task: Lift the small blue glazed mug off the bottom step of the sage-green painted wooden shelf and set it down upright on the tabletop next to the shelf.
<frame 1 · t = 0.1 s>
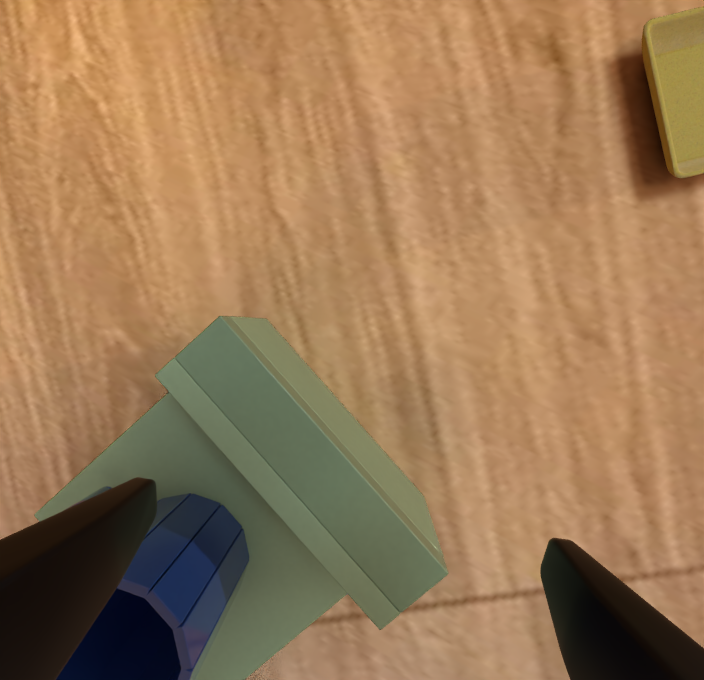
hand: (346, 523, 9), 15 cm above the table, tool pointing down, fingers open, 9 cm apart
shelf: (246, 493, 25), on the table
mug: (189, 552, 22), point 3 cm above the table, touching shelf
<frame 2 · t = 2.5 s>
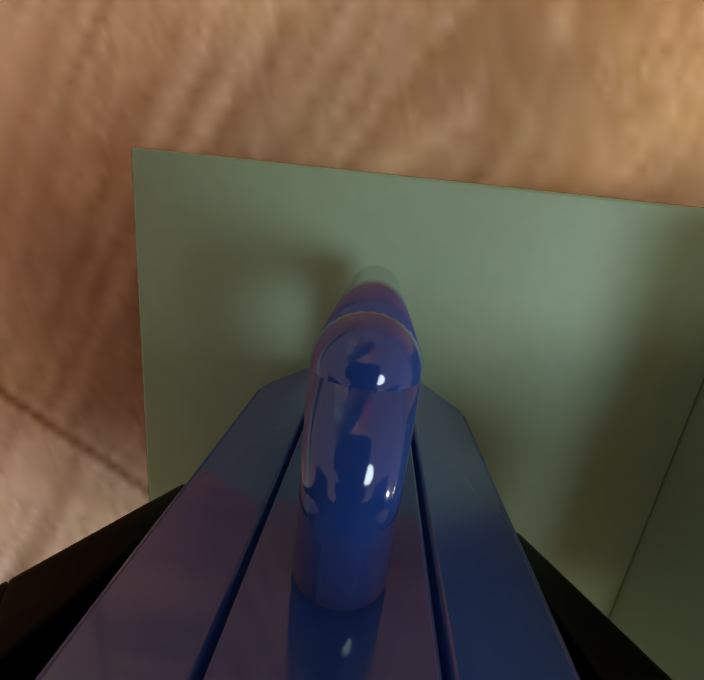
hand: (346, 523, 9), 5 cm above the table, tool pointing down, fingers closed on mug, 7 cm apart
shelf: (446, 436, 13), on the table
mug: (350, 484, 10), point 3 cm above the table, touching gripper, shelf
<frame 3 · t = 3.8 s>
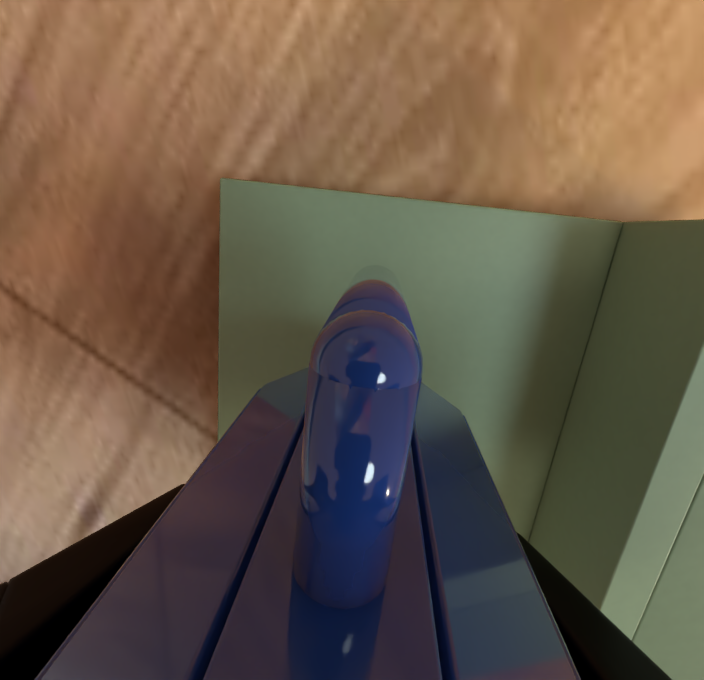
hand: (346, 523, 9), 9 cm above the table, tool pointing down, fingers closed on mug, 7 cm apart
shelf: (429, 383, 17), on the table
mug: (350, 484, 10), point 8 cm above the table, touching gripper
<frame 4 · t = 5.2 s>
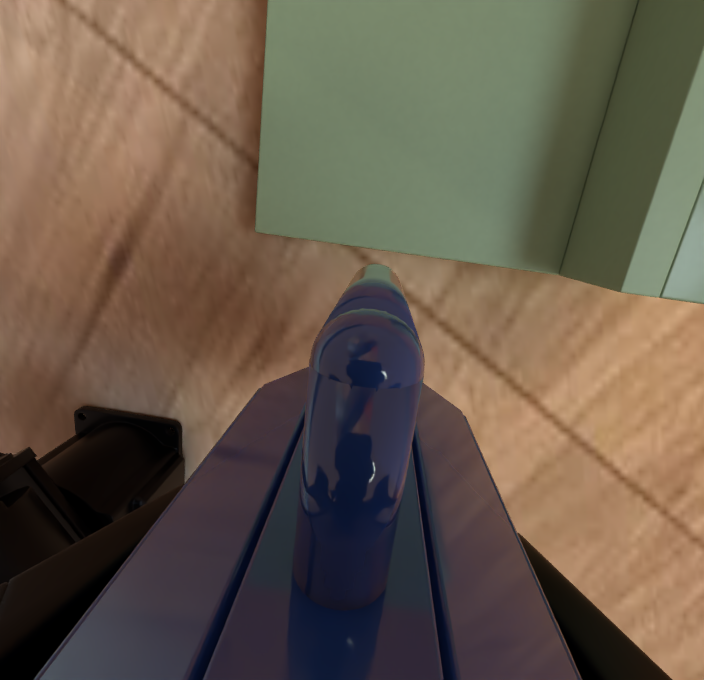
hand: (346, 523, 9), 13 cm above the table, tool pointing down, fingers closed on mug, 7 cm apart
shelf: (474, 83, 17), on the table
mug: (350, 484, 10), point 11 cm above the table, touching gripper
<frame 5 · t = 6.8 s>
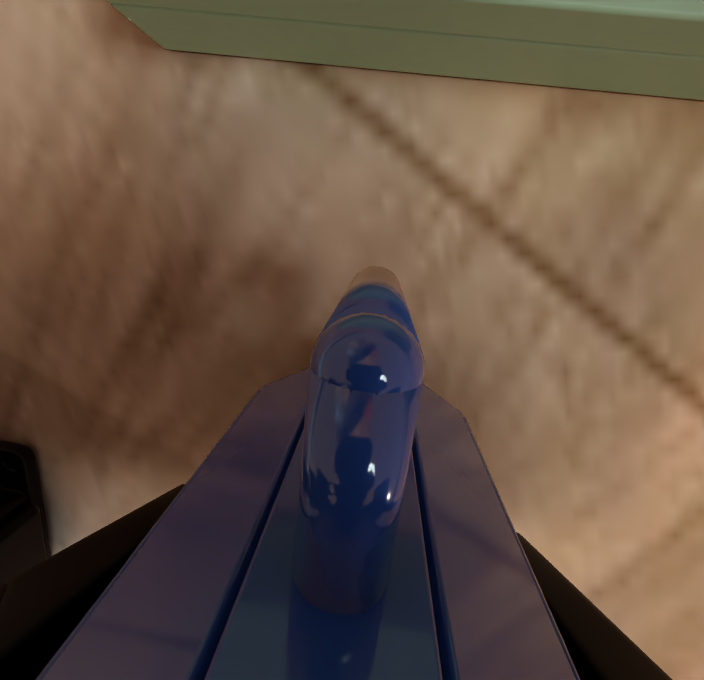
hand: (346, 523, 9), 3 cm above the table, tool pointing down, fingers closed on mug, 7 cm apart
mug: (350, 485, 10), point 2 cm above the table, touching gripper
when the fingers open (1 cm above the table, at t = 8.1 s): mug stays where it is, on the table.
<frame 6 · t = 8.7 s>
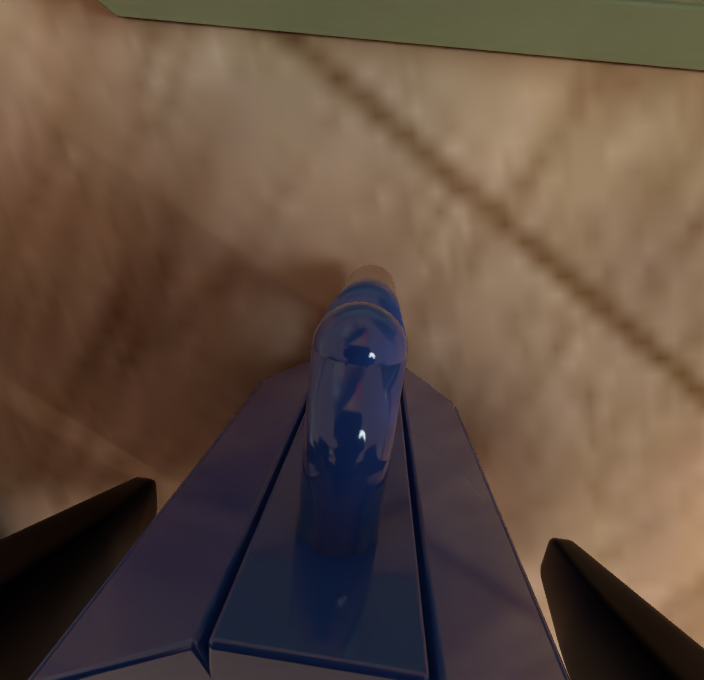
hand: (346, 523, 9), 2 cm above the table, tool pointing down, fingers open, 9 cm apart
mug: (348, 472, 10), on the table
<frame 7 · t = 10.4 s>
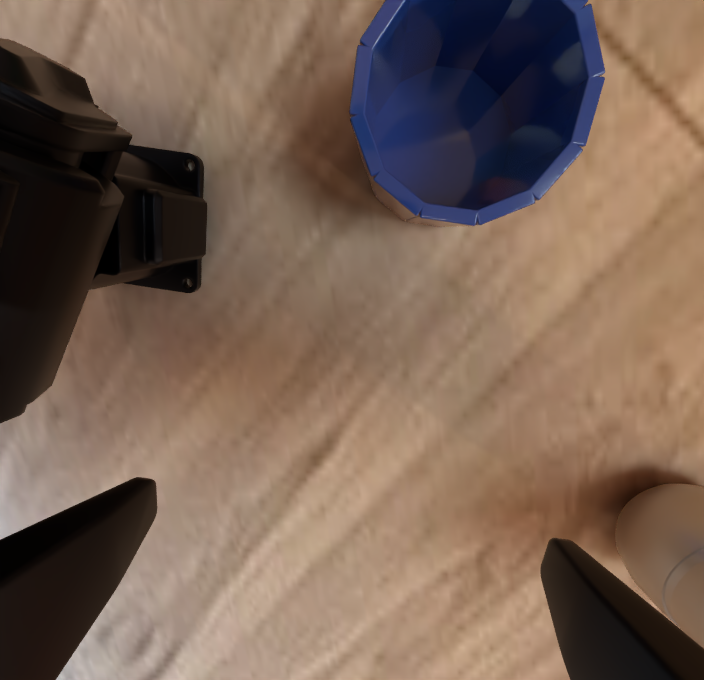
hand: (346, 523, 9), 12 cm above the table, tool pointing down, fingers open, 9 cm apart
mug: (437, 147, 17), on the table
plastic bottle: (659, 513, 22), on the table
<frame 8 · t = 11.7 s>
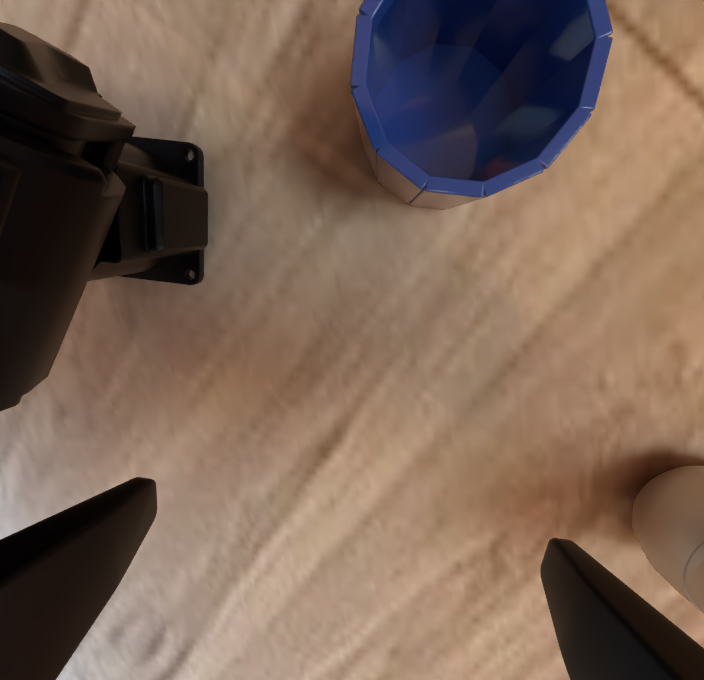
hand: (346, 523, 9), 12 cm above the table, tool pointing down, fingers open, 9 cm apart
mug: (439, 128, 17), on the table
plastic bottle: (676, 497, 21), on the table
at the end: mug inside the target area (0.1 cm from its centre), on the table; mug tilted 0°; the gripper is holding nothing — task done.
